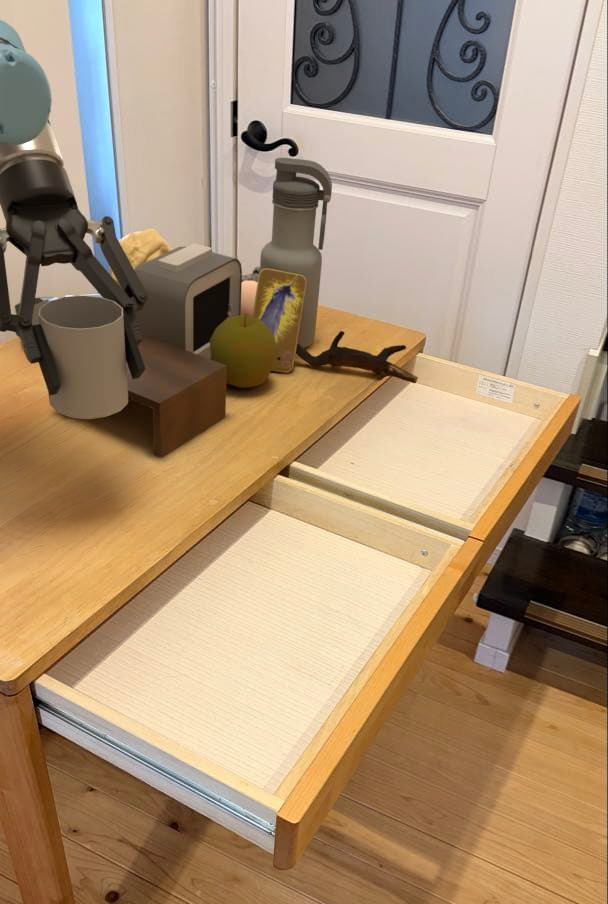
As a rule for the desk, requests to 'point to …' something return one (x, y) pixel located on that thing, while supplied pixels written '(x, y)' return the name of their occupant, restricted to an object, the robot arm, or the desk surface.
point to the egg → (248, 297)
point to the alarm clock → (189, 296)
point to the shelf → (178, 392)
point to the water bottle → (298, 232)
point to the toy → (357, 359)
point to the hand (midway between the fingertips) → (98, 381)
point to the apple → (244, 350)
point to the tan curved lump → (142, 247)
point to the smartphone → (281, 311)
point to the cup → (86, 355)
